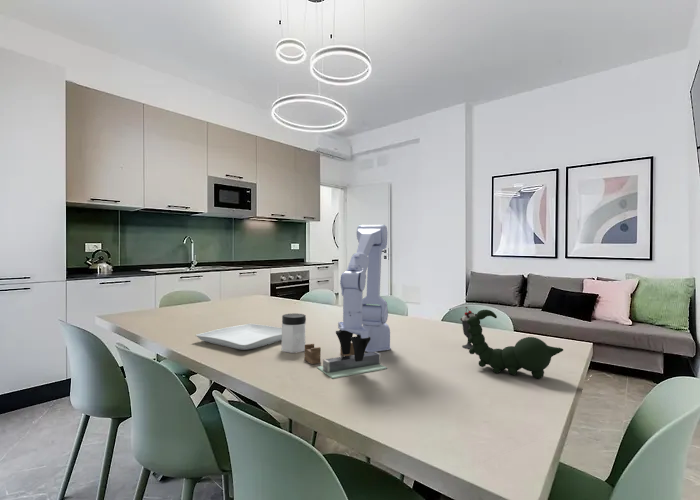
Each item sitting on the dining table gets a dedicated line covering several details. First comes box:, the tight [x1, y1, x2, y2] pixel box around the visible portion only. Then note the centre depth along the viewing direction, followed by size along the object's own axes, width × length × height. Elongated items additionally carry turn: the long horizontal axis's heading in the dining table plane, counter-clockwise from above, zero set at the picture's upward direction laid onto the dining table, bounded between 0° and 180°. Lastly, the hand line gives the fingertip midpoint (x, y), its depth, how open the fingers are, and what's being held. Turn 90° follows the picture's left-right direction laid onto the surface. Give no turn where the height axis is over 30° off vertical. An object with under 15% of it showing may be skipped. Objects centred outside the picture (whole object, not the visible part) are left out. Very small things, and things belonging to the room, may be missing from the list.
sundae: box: [459, 306, 477, 350], centre depth 134 cm, size 7×7×15 cm
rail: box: [322, 352, 382, 373], centre depth 109 cm, size 18×3×3 cm, turn 120°
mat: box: [316, 364, 388, 379], centre depth 109 cm, size 18×10×1 cm, turn 120°
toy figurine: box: [467, 309, 564, 380], centre depth 106 cm, size 9×19×25 cm
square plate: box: [194, 323, 282, 351], centre depth 140 cm, size 27×27×4 cm
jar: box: [281, 313, 307, 354], centre depth 128 cm, size 9×8×12 cm
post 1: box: [303, 343, 322, 365], centre depth 115 cm, size 3×6×5 cm, turn 30°
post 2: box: [339, 342, 354, 357], centre depth 122 cm, size 3×6×5 cm, turn 30°
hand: (352, 357), depth 109 cm, fingers open, 7 cm apart
